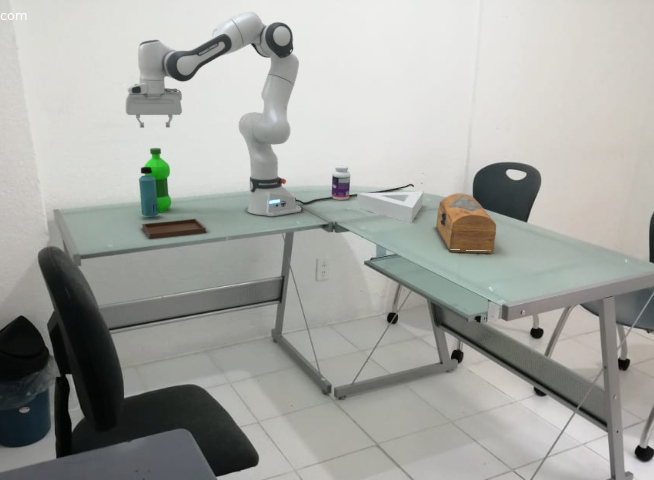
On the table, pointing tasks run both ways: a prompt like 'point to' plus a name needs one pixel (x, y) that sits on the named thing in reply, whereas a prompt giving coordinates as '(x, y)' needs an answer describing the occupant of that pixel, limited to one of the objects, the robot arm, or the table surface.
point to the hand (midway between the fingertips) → (155, 127)
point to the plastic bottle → (160, 178)
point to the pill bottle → (340, 183)
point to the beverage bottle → (148, 193)
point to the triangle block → (392, 204)
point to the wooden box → (465, 224)
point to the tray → (173, 228)
